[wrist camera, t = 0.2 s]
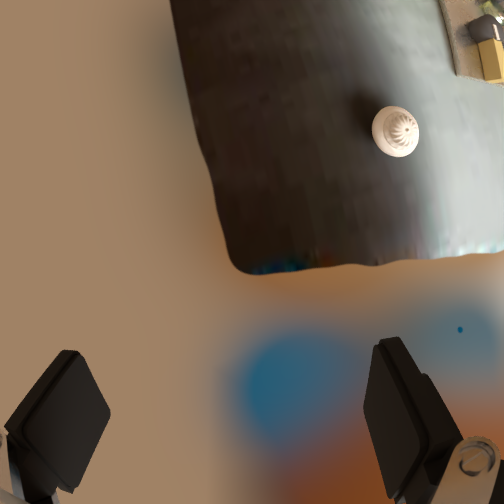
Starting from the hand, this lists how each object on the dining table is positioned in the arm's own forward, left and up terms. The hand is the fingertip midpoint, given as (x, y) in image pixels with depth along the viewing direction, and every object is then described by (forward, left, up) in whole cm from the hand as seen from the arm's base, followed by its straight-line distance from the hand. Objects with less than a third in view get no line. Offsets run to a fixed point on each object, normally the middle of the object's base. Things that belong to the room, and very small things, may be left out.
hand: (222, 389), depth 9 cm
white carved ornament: (-8, +18, -31) cm, 37 cm away
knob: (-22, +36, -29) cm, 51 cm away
